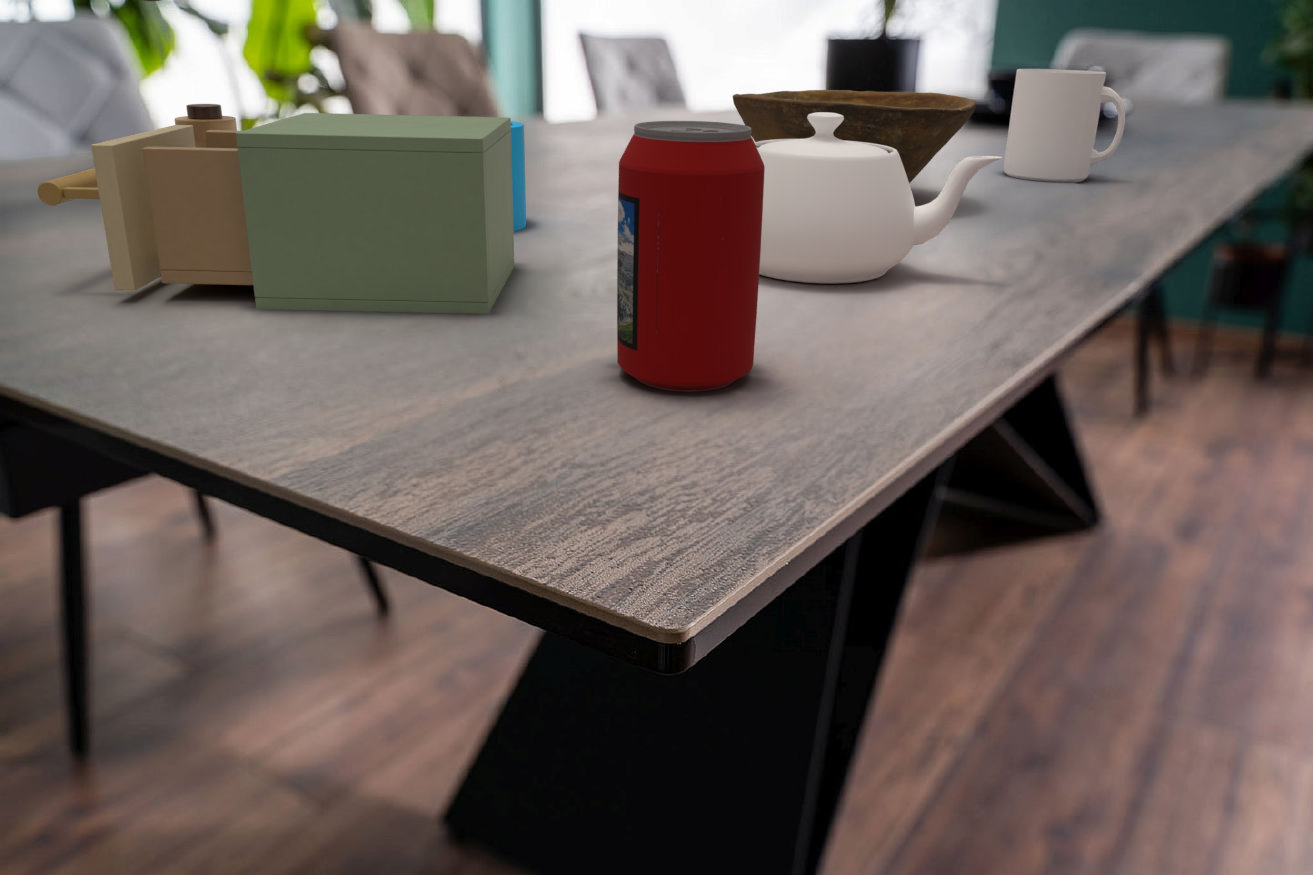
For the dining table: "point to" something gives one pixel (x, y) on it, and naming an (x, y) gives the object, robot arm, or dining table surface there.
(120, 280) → the drawer
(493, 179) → the cabinet
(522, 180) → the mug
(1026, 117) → the mug
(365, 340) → the dining table surface
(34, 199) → the dining table surface
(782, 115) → the bowl
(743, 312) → the beverage can
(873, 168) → the teapot
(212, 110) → the pepper mill
